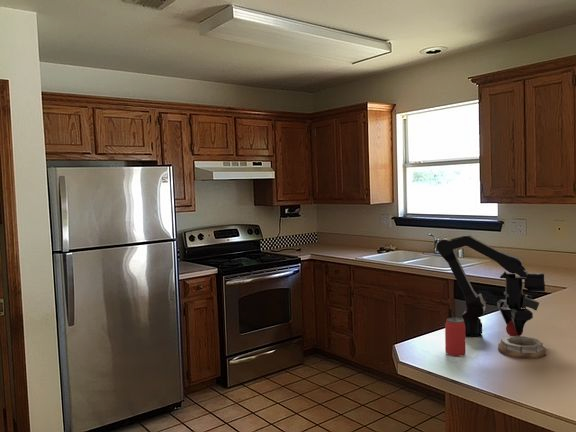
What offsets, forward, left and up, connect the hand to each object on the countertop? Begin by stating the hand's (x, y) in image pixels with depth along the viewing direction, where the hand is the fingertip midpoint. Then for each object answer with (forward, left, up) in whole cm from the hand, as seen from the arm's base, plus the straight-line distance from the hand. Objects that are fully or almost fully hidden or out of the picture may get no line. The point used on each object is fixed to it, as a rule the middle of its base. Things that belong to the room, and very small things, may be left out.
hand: (514, 331), depth 183 cm
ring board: (-3, -14, -3) cm, 15 cm away
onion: (0, 0, -3) cm, 3 cm away
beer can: (-26, -16, -3) cm, 31 cm away
